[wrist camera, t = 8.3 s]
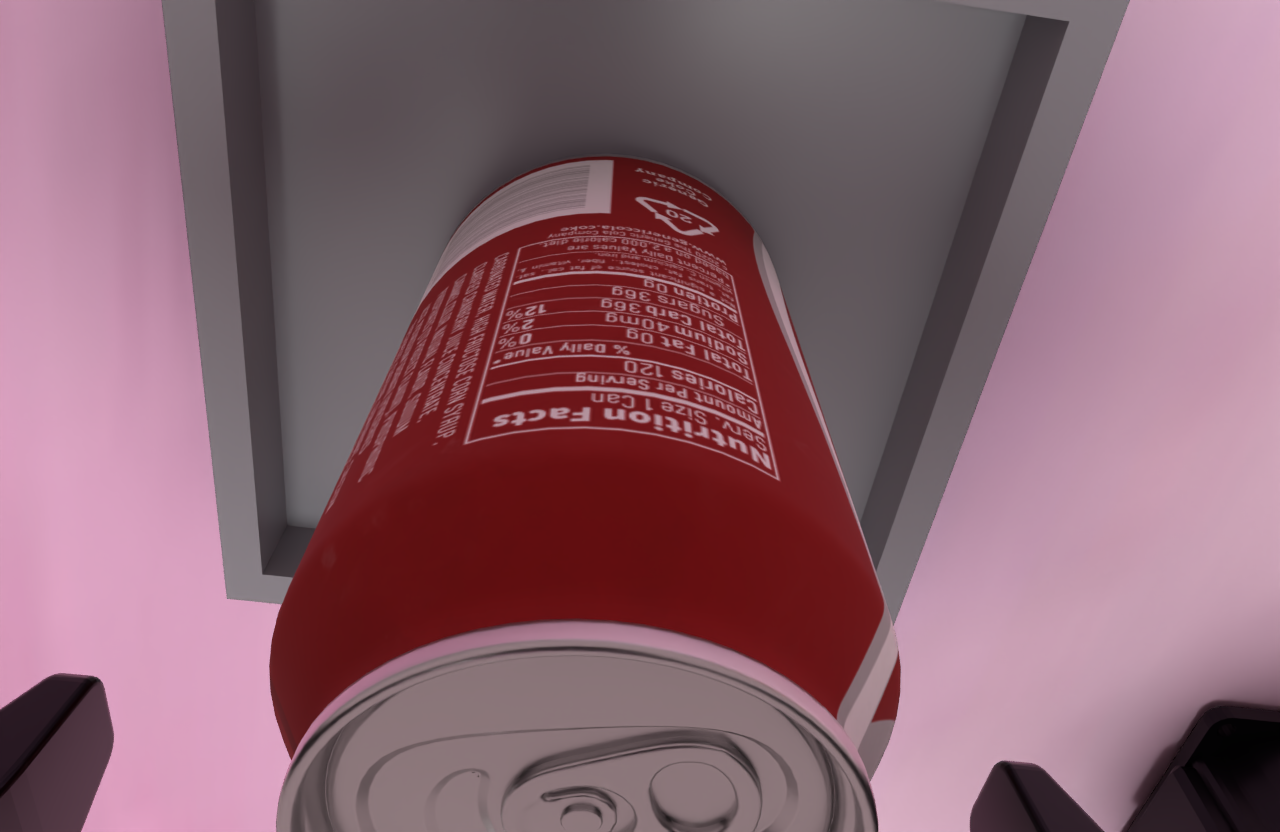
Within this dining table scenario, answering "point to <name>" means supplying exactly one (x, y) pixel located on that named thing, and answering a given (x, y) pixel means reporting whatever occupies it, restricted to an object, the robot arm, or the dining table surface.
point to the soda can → (590, 545)
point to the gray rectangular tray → (625, 125)
